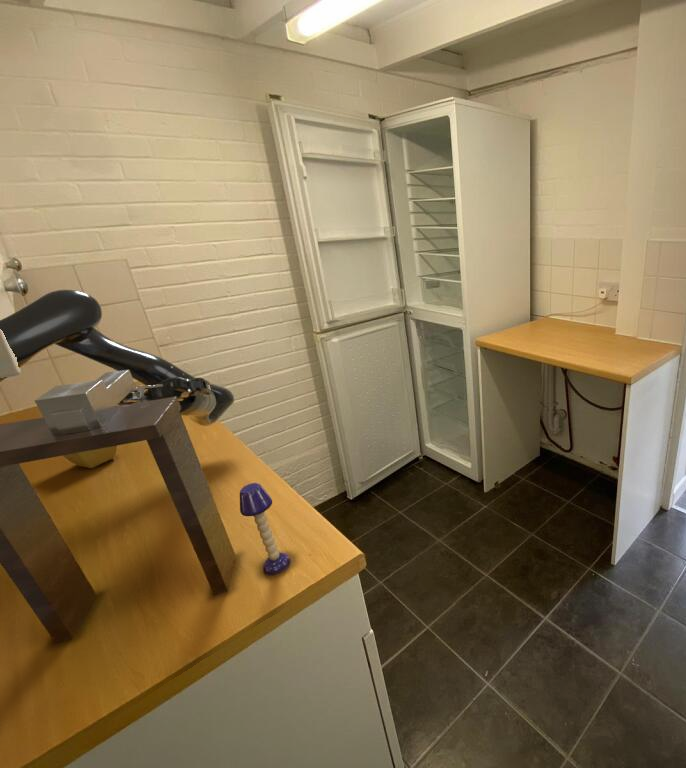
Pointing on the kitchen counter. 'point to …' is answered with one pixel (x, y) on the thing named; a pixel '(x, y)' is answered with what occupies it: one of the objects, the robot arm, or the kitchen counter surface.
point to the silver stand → (84, 402)
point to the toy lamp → (263, 525)
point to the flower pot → (92, 457)
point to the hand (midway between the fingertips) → (145, 387)
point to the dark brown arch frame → (43, 540)
